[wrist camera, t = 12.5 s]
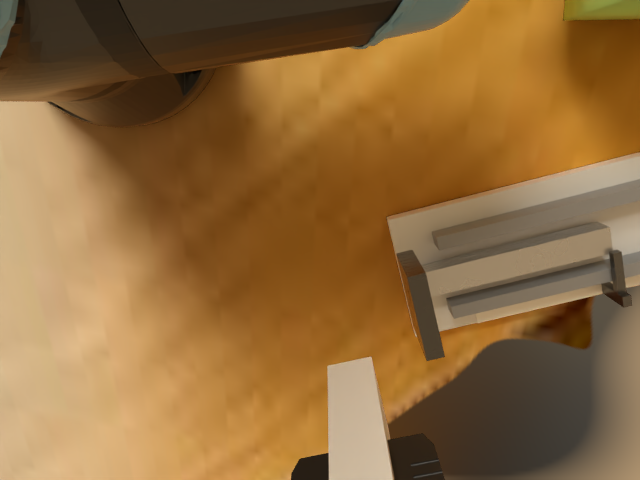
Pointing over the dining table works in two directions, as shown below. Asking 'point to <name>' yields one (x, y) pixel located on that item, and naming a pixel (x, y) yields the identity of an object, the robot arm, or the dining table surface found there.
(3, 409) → the dining table surface
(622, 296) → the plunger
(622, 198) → the base
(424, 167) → the dining table surface
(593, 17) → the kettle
